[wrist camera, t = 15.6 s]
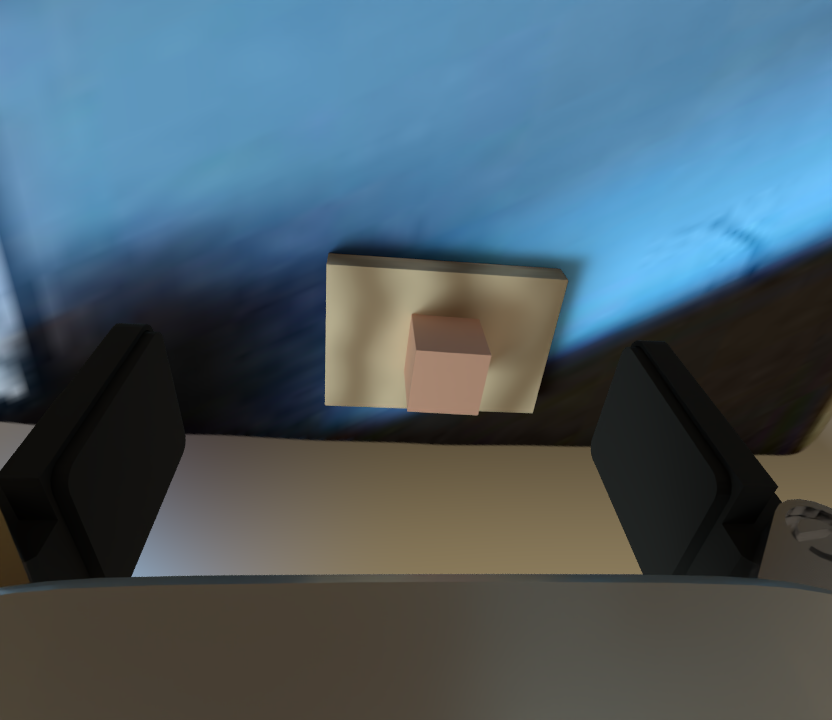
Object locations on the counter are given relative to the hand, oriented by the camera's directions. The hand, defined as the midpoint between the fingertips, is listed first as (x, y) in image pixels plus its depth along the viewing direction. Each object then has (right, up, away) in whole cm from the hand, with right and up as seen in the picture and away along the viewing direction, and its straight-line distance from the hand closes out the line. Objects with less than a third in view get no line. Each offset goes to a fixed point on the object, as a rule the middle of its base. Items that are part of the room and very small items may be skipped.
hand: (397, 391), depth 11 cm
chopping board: (+2, +3, +32) cm, 32 cm away
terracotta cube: (+2, +2, +30) cm, 30 cm away
